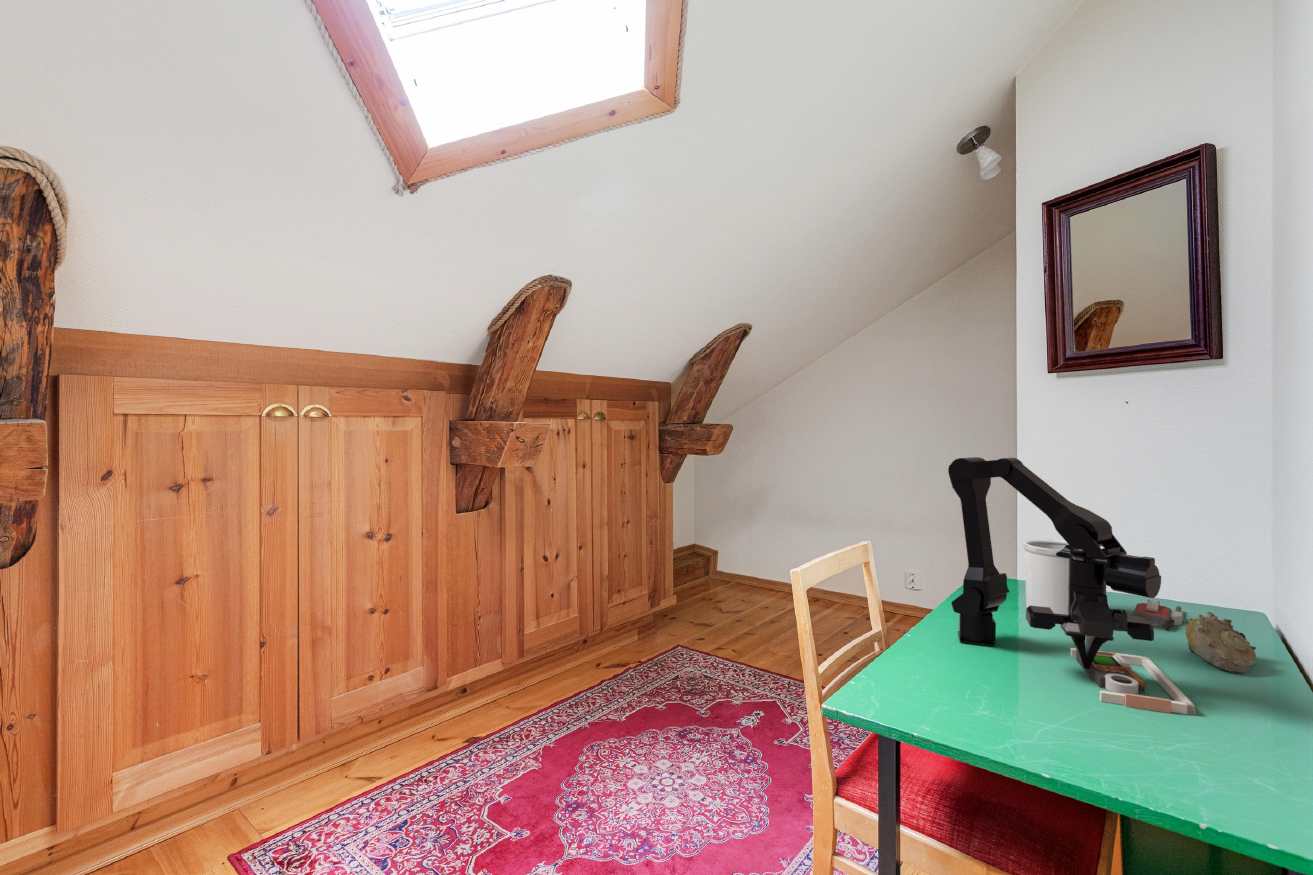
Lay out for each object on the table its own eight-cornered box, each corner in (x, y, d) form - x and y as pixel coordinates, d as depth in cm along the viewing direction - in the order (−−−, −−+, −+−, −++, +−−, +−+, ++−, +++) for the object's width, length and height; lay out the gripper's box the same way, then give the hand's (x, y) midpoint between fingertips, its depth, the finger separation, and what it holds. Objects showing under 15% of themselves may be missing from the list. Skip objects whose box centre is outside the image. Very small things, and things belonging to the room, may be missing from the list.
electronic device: (1105, 681, 106) (1075, 646, 120) (1105, 698, 106) (1075, 661, 120) (1152, 686, 103) (1116, 650, 118) (1151, 703, 104) (1115, 665, 118)
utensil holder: (1010, 612, 150) (1011, 542, 149) (1042, 603, 158) (1043, 536, 157) (1076, 630, 137) (1077, 553, 137) (1107, 618, 145) (1109, 546, 144)
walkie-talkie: (1181, 635, 135) (1184, 613, 149) (1181, 615, 134) (1184, 596, 149) (1131, 626, 141) (1138, 606, 155) (1131, 607, 140) (1139, 589, 155)
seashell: (1186, 674, 116) (1190, 624, 115) (1178, 643, 128) (1181, 598, 127) (1267, 690, 110) (1272, 637, 109) (1250, 656, 122) (1254, 608, 121)
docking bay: (1102, 702, 102) (1102, 691, 102) (1070, 654, 123) (1070, 645, 123) (1196, 716, 97) (1196, 704, 97) (1147, 664, 118) (1147, 654, 118)
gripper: (1036, 590, 108) (1035, 676, 109) (1166, 602, 101) (1164, 694, 101) (1025, 575, 119) (1024, 654, 119) (1143, 585, 111) (1142, 669, 112)
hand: (1085, 668), depth 113 cm, fingers closed
